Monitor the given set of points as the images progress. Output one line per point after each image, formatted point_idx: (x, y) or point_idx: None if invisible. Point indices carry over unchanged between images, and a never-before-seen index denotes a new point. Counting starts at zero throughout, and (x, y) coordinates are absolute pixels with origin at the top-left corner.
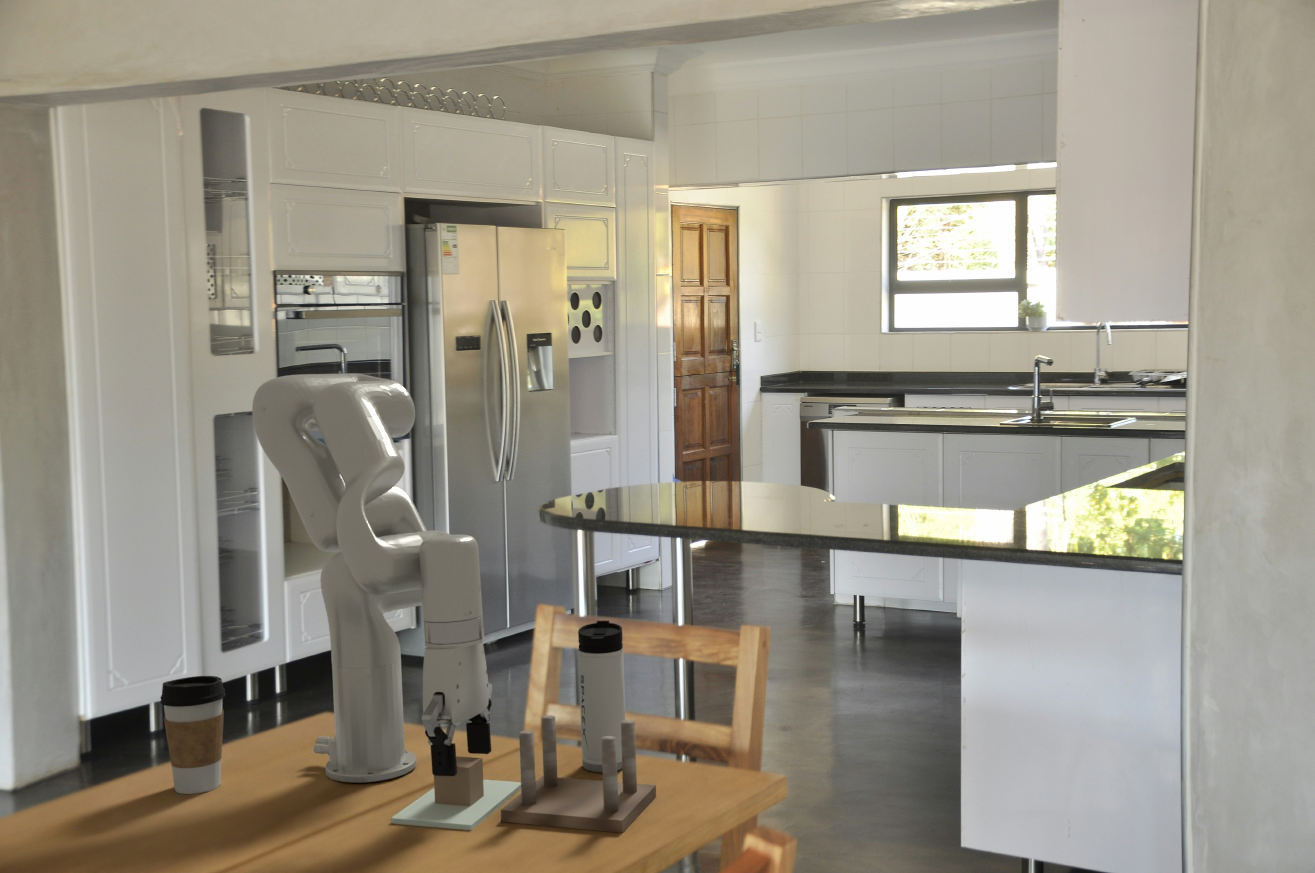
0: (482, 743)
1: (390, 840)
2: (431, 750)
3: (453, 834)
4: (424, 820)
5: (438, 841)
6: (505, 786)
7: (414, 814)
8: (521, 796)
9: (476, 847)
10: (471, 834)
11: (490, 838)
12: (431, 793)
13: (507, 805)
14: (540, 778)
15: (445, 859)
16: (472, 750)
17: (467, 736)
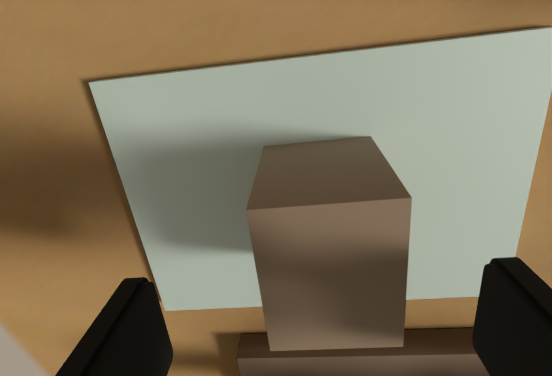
0: (498, 364)
1: (5, 161)
2: (60, 373)
3: None
4: (130, 194)
5: (75, 270)
6: (463, 266)
7: (152, 139)
8: (340, 364)
9: None
10: None
11: None
12: (351, 74)
13: (269, 359)
14: None
15: (15, 323)
16: (486, 288)
17: (541, 324)
